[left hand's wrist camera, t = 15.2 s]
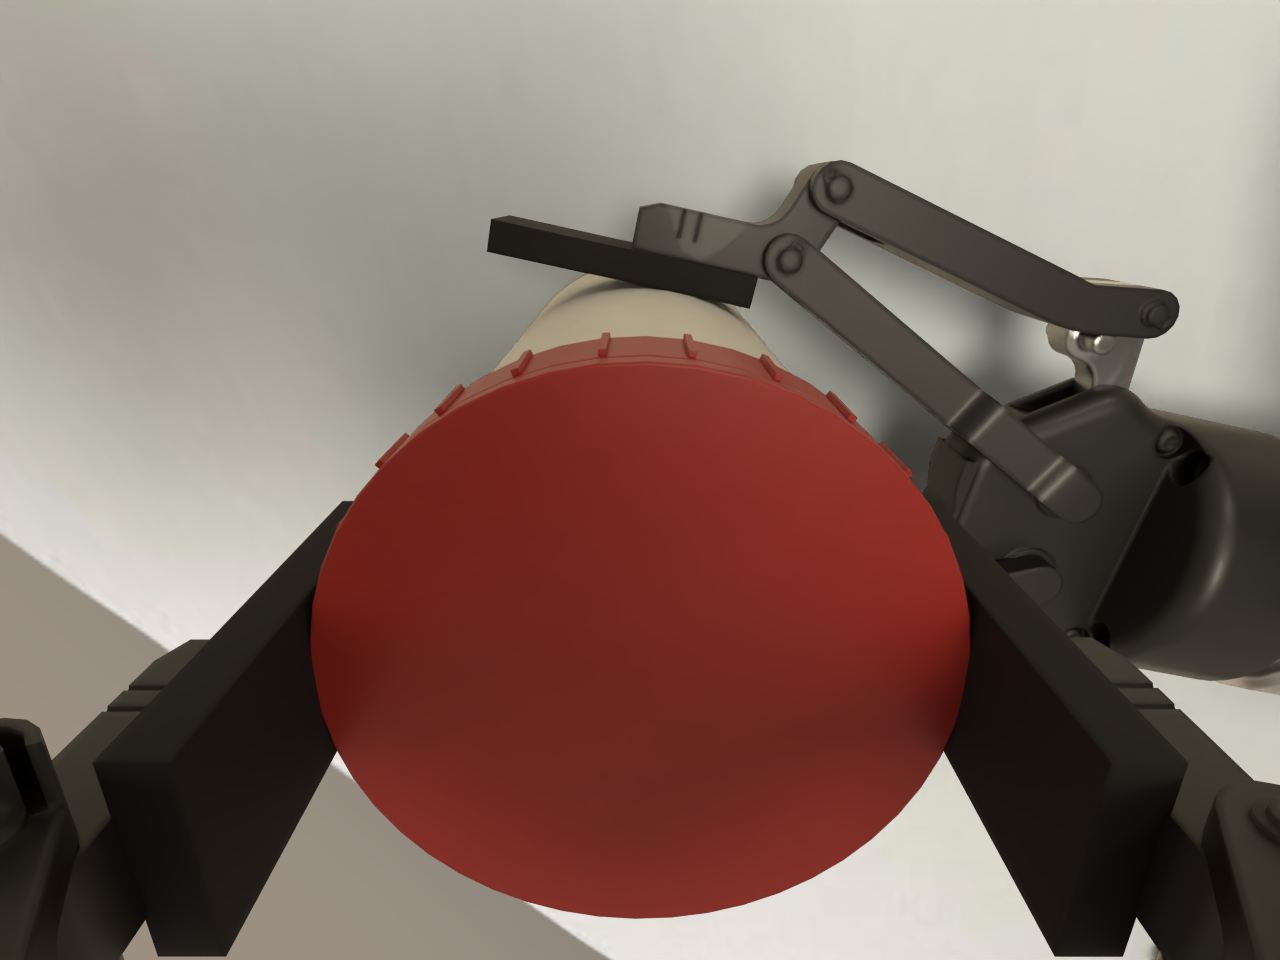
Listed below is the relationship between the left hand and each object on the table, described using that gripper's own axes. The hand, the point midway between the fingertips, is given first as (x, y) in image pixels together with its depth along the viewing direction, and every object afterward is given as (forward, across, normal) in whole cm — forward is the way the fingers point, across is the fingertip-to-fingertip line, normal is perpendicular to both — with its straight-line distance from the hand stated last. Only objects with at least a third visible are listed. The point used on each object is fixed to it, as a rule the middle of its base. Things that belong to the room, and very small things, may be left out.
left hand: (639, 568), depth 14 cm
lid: (-3, 0, 0) cm, 3 cm away
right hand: (+8, -4, +1) cm, 9 cm away
